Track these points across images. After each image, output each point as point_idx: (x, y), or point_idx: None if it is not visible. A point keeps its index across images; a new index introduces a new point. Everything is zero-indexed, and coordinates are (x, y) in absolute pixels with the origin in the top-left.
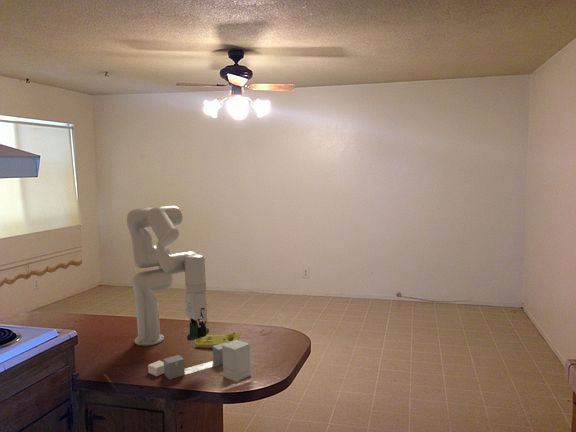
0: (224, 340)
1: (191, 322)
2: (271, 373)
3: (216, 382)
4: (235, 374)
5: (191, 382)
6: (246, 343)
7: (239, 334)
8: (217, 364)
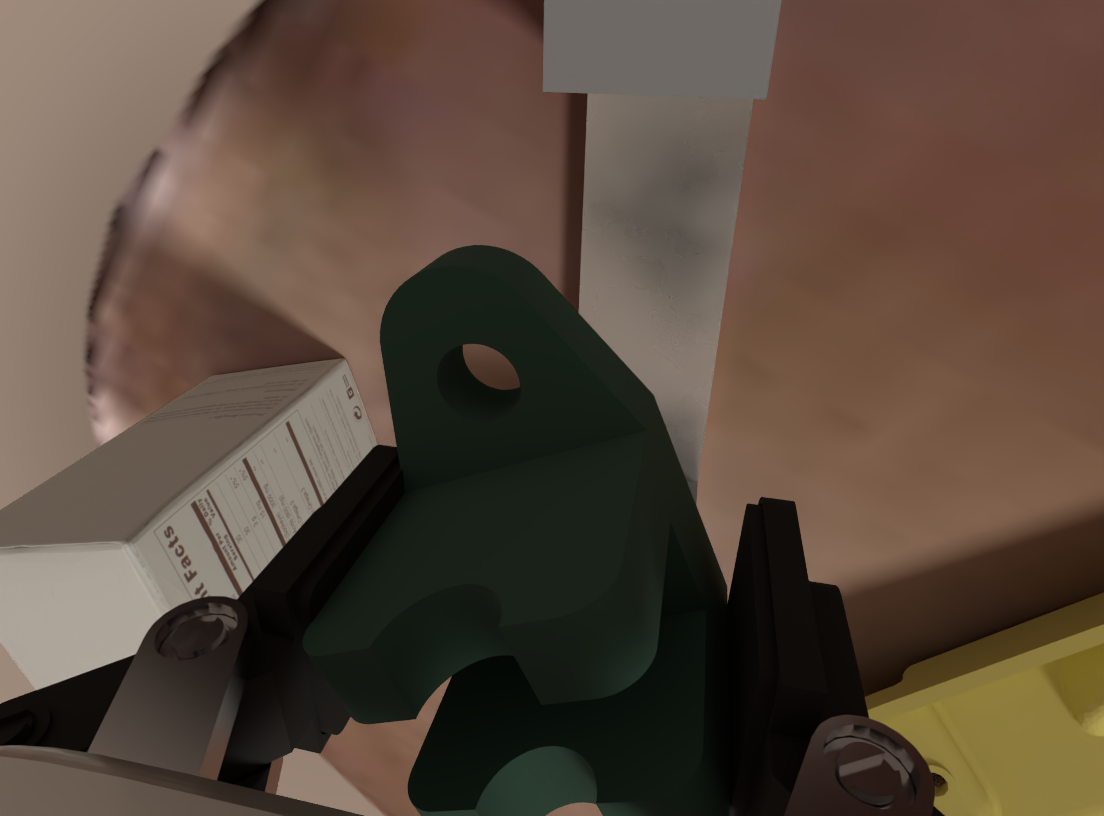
0: None
1: (806, 728)
2: None
3: (306, 273)
4: (166, 407)
5: (424, 79)
6: None
7: None
8: None
